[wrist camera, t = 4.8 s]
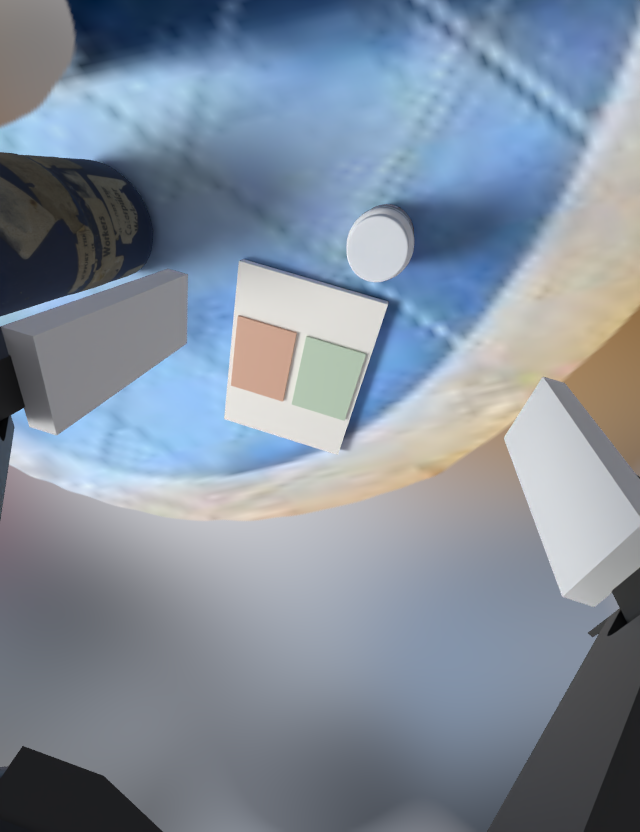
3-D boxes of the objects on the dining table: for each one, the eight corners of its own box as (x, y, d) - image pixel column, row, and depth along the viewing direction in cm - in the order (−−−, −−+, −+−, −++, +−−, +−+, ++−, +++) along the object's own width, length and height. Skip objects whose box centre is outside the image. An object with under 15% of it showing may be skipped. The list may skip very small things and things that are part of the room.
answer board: (243, 259, 34) (237, 261, 33) (388, 301, 33) (387, 305, 32) (227, 414, 44) (223, 420, 43) (339, 449, 43) (337, 456, 42)
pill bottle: (388, 277, 32) (381, 303, 25) (345, 243, 32) (327, 259, 25) (426, 229, 30) (431, 243, 23) (381, 190, 29) (371, 192, 22)
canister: (178, 255, 35) (8, 308, 20) (108, 286, 39) (-83, 352, 24) (120, 139, 31) (-149, 99, 16) (46, 185, 34) (-232, 188, 19)
